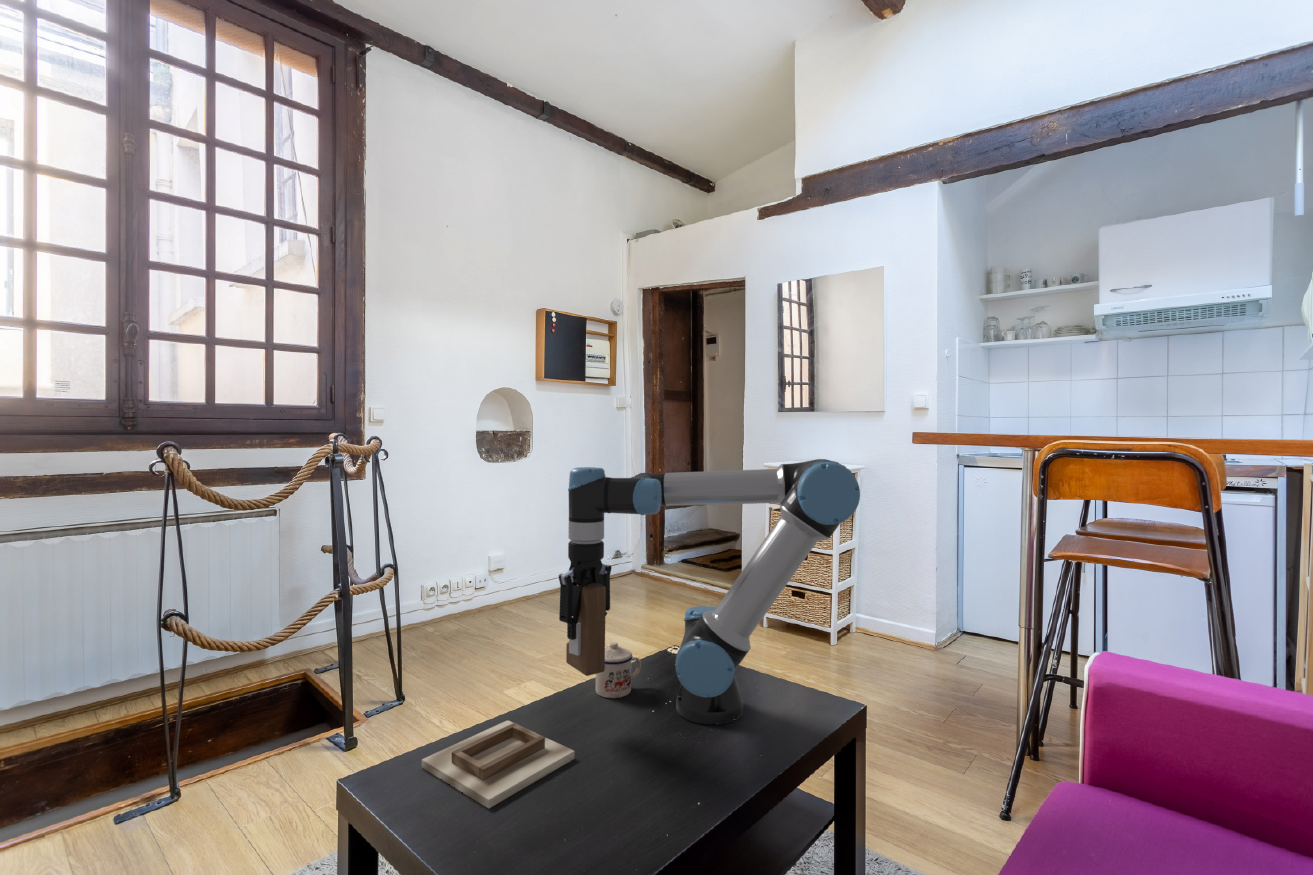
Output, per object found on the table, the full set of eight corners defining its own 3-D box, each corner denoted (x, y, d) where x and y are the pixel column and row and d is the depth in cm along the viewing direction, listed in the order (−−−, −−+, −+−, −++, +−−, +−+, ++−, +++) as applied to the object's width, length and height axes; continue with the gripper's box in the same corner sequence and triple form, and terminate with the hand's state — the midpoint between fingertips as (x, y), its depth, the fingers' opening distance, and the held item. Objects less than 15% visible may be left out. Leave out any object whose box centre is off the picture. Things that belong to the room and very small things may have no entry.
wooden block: (565, 663, 132) (566, 580, 132) (583, 658, 135) (584, 577, 135) (586, 677, 125) (587, 589, 125) (605, 672, 128) (606, 586, 128)
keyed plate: (574, 758, 118) (574, 740, 118) (488, 808, 102) (488, 787, 102) (507, 727, 130) (507, 710, 130) (421, 767, 115) (421, 748, 115)
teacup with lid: (604, 702, 143) (604, 652, 143) (588, 687, 151) (589, 640, 151) (649, 692, 149) (649, 644, 149) (632, 678, 157) (632, 633, 157)
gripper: (603, 533, 139) (602, 634, 140) (540, 544, 125) (540, 657, 125) (628, 536, 135) (627, 642, 135) (566, 549, 120) (565, 666, 121)
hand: (585, 649), depth 130 cm, fingers closed on wooden block, 5 cm apart
